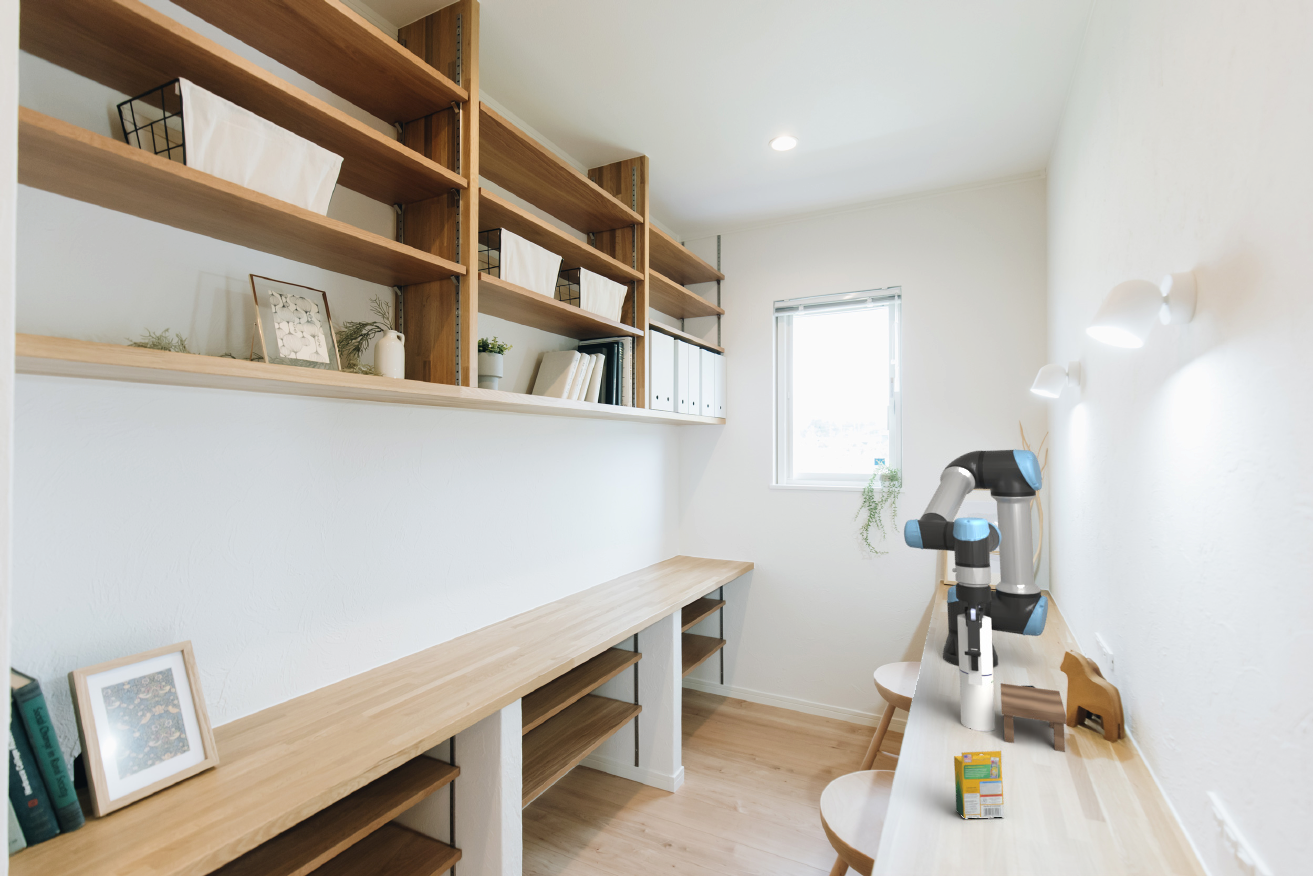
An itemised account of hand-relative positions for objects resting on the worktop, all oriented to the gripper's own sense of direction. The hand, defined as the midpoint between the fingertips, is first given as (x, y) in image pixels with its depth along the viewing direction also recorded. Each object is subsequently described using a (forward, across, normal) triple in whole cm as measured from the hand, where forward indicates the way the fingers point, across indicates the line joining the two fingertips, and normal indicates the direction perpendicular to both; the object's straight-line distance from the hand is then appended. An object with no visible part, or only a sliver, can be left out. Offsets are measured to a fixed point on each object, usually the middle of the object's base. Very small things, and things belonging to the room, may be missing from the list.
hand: (976, 675), depth 147 cm
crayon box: (+12, +41, +1) cm, 43 cm away
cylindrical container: (+12, 0, 0) cm, 12 cm away
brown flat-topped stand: (+11, 0, +11) cm, 16 cm away
